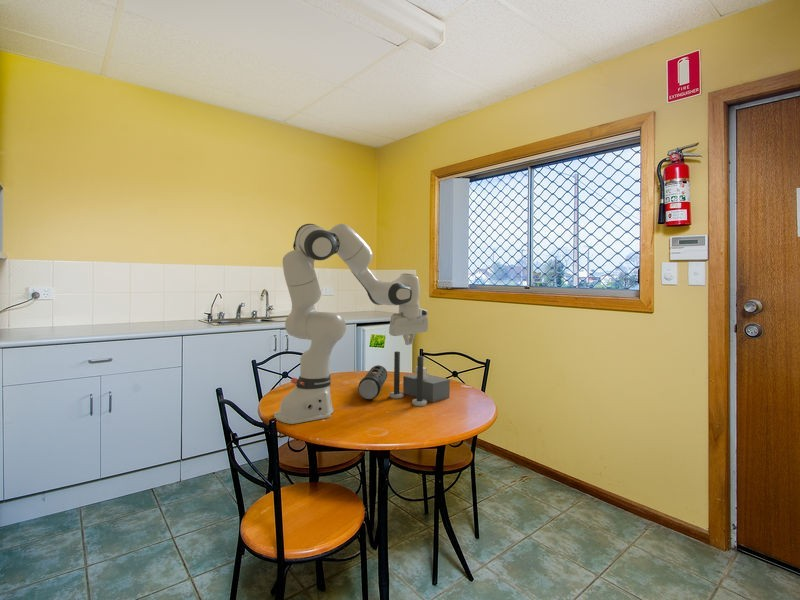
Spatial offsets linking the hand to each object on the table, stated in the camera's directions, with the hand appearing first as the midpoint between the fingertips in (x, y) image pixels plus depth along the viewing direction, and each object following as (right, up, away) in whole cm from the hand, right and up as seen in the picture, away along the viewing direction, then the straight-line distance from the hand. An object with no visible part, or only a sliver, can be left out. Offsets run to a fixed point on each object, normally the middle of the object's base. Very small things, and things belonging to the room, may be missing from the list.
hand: (408, 344), depth 177 cm
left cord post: (-5, -24, +6) cm, 25 cm away
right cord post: (+4, -25, -4) cm, 25 cm away
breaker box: (+8, -24, +9) cm, 27 cm away
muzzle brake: (-16, -24, +11) cm, 31 cm away
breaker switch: (+5, -16, +6) cm, 18 cm away
